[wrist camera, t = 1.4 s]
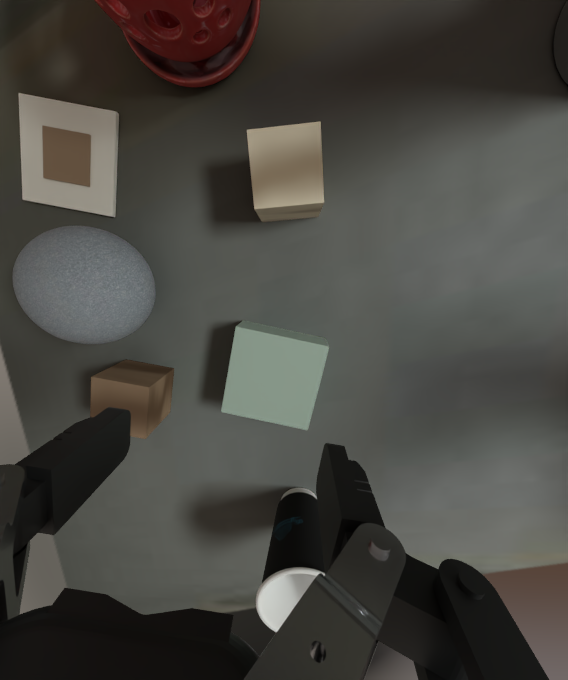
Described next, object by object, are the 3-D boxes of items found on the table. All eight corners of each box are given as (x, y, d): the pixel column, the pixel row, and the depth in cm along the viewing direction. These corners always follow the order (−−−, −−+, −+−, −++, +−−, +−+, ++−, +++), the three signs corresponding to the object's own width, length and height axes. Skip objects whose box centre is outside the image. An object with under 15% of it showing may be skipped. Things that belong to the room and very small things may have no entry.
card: (22, 95, 25) (16, 91, 25) (119, 114, 25) (115, 110, 25) (26, 200, 27) (20, 198, 27) (115, 217, 27) (111, 216, 27)
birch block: (256, 160, 26) (246, 129, 20) (315, 153, 25) (320, 121, 20) (262, 222, 27) (254, 209, 22) (318, 217, 27) (324, 202, 21)
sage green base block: (243, 319, 30) (235, 326, 26) (324, 337, 30) (329, 346, 26) (230, 395, 32) (220, 411, 28) (306, 411, 32) (307, 430, 28)
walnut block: (126, 359, 31) (91, 376, 26) (174, 368, 31) (149, 387, 26) (124, 403, 32) (90, 428, 27) (170, 411, 32) (145, 438, 27)
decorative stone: (62, 259, 29) (-59, 251, 19) (143, 218, 27) (59, 185, 18) (112, 345, 30) (26, 378, 21) (190, 310, 29) (138, 327, 19)
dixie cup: (281, 467, 33) (275, 558, 22) (341, 489, 34) (363, 590, 23) (258, 516, 35) (242, 623, 24) (316, 537, 35) (325, 651, 25)
